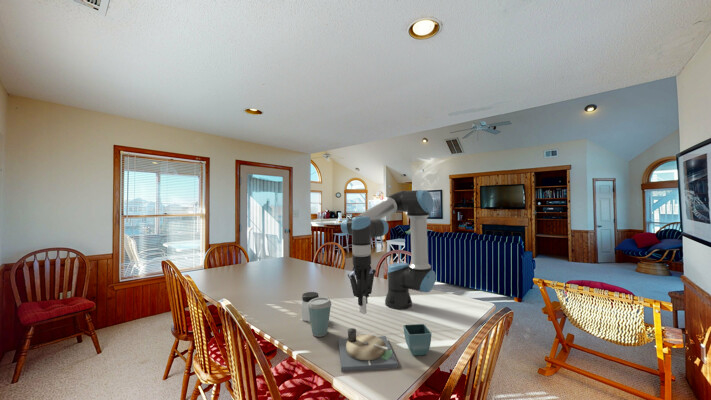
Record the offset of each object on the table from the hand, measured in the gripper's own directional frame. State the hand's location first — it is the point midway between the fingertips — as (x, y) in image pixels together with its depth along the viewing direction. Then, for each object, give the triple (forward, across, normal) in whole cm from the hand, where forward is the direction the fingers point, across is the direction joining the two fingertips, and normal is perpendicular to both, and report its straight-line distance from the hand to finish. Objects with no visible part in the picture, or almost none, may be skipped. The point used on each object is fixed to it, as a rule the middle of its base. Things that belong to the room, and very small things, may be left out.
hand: (363, 312), depth 112 cm
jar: (+14, +5, -37) cm, 40 cm away
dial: (+12, +3, +6) cm, 13 cm away
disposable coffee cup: (+14, +9, -20) cm, 26 cm away
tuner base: (+13, +3, +5) cm, 15 cm away
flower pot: (+14, -14, +16) cm, 25 cm away
